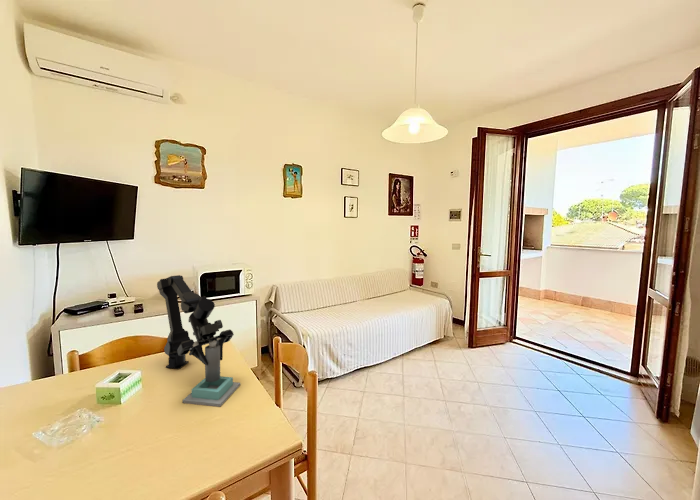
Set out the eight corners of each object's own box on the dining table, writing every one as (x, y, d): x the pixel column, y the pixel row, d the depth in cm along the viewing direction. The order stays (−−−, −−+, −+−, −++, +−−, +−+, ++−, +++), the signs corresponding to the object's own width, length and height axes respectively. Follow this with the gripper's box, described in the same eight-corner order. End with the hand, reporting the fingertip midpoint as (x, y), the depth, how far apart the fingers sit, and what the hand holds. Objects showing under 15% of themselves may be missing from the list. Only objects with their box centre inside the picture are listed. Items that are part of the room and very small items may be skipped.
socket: (206, 381, 116) (206, 372, 115) (240, 385, 114) (240, 375, 114) (182, 402, 102) (182, 391, 101) (220, 406, 100) (220, 395, 100)
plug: (206, 376, 109) (205, 339, 108) (220, 374, 111) (220, 338, 109) (204, 383, 104) (204, 345, 103) (219, 380, 106) (219, 343, 105)
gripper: (179, 320, 101) (194, 360, 95) (231, 309, 115) (246, 344, 109) (171, 336, 107) (184, 375, 100) (221, 324, 121) (235, 358, 115)
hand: (214, 362), depth 106 cm, fingers closed on plug, 5 cm apart
